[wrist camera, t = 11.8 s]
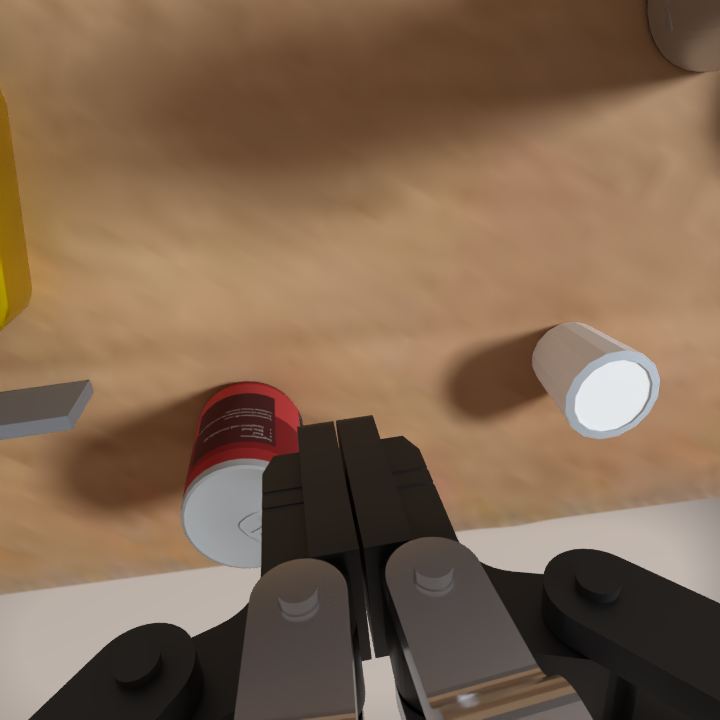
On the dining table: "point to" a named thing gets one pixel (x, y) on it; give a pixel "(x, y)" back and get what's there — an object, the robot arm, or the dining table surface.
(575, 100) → the dining table surface
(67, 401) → the box
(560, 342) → the white piece
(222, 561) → the canned food
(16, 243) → the element tile
